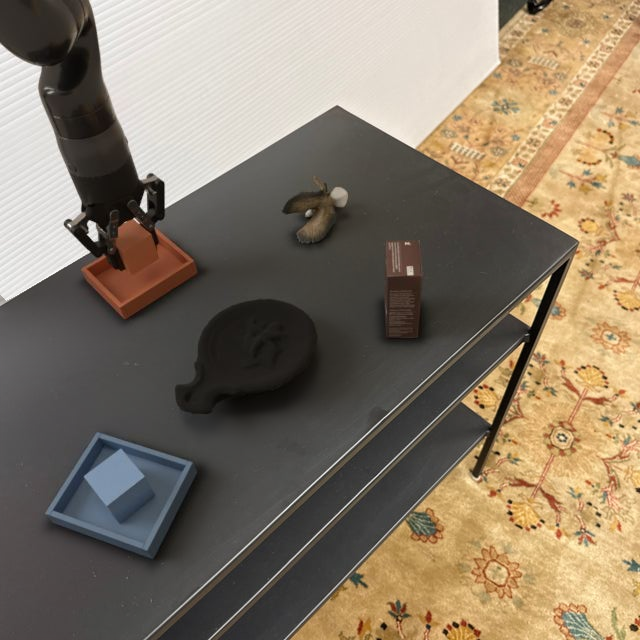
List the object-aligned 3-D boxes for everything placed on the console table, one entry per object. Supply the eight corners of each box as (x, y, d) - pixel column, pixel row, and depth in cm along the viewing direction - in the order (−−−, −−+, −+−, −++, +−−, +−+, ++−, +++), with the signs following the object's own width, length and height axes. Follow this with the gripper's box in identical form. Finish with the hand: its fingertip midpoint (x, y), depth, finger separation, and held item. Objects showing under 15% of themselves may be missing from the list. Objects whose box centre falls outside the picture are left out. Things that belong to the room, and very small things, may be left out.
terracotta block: (131, 276, 87) (122, 251, 84) (113, 259, 89) (103, 235, 86) (159, 258, 89) (151, 234, 86) (141, 242, 91) (132, 218, 88)
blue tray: (53, 523, 69) (44, 513, 67) (103, 442, 75) (96, 431, 73) (153, 559, 66) (147, 550, 64) (197, 472, 72) (193, 462, 70)
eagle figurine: (301, 191, 101) (270, 217, 95) (325, 162, 96) (294, 188, 89) (335, 225, 101) (307, 253, 95) (361, 199, 96) (333, 227, 90)
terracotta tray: (124, 319, 87) (119, 307, 85) (86, 280, 92) (80, 268, 90) (197, 273, 92) (194, 260, 90) (157, 238, 97) (153, 226, 95)
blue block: (119, 524, 68) (106, 506, 65) (96, 495, 70) (83, 476, 67) (155, 495, 70) (145, 476, 67) (132, 467, 72) (120, 448, 69)
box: (382, 304, 87) (385, 238, 78) (415, 304, 87) (422, 238, 77) (383, 339, 83) (386, 275, 74) (418, 340, 83) (426, 275, 73)
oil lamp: (147, 388, 80) (137, 364, 76) (263, 299, 88) (259, 274, 84) (225, 462, 73) (218, 440, 69) (343, 358, 81) (342, 334, 78)
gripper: (131, 116, 81) (162, 219, 94) (26, 169, 75) (76, 271, 88) (165, 140, 77) (193, 244, 90) (58, 197, 71) (105, 299, 84)
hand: (135, 257), depth 89 cm, fingers closed on terracotta block, 4 cm apart
